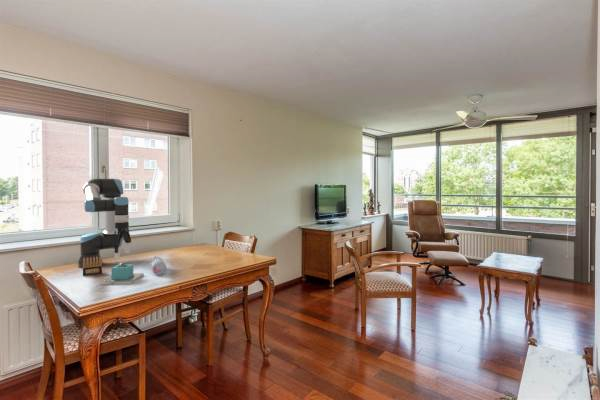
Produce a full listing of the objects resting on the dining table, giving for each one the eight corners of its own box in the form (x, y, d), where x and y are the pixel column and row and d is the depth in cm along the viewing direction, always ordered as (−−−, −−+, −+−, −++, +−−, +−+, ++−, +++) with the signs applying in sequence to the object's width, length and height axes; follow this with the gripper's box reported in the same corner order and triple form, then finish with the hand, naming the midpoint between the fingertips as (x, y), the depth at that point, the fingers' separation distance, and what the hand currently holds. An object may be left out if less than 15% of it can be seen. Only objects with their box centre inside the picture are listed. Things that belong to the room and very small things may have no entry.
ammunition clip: (102, 273, 208) (101, 255, 208) (102, 273, 207) (101, 256, 206) (82, 275, 202) (82, 257, 202) (82, 276, 201) (82, 257, 200)
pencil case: (149, 269, 218) (149, 256, 218) (163, 267, 223) (163, 254, 222) (152, 277, 200) (152, 262, 200) (167, 275, 205) (166, 261, 204)
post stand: (114, 276, 201) (114, 260, 201) (143, 275, 204) (143, 259, 203) (99, 284, 184) (99, 267, 183) (131, 283, 186) (131, 266, 185)
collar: (118, 275, 197) (118, 264, 197) (133, 274, 198) (133, 264, 198) (111, 279, 189) (111, 268, 188) (127, 279, 190) (126, 267, 189)
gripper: (118, 224, 180) (119, 260, 181) (136, 219, 205) (136, 250, 206) (105, 224, 179) (105, 260, 180) (124, 219, 204) (124, 251, 205)
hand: (122, 255), depth 193 cm, fingers open, 13 cm apart
